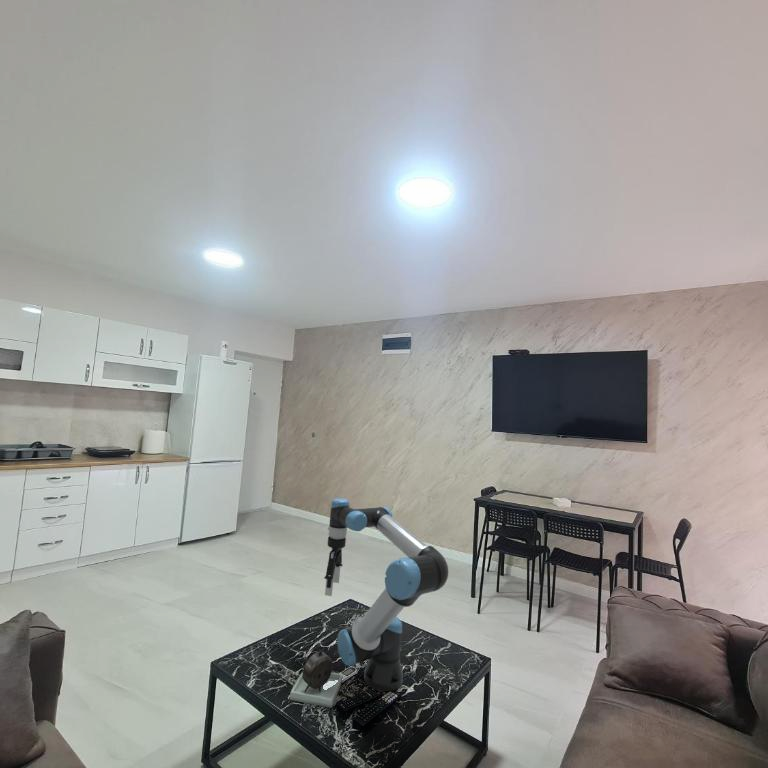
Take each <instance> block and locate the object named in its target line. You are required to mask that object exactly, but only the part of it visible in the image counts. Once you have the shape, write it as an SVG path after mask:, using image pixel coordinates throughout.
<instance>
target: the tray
mask: <svg viewBox="0 0 768 768" xmlns="http://www.w3.org/2000/svg"><path fill="white" fill-rule="evenodd" d="M343 678H344V674H342V673H337V672H332V673H331V675H330V677H329V679H328V681H335V680H338V682H337V683H336V684H335V685H333V686H332V687H330V688H328V689H327V690H324V689H323V686H321V692H319V688H317V689H313V688H311V687H310V686H309V688H308V689H307V690H306V687H307V685H308V684H307V683H306V682H305V681H304V680H303V671H302V672H301V673H300V675H299V677H298V678H297V680H296V682H295V684H294V686H293V687H292V689H291V691H290V694H289V701H294V702H300V703H303V704H309V705H315V706H319V707H325V708H330V709H332V708H333V706H334V703H335V701H336V698H337V696H338V693H339V691H340V688H341V685H342V684H341V683H343V680H344V679H343ZM342 679H343V680H342ZM328 681H327V682H328ZM327 682H326V683H327ZM305 690H306V692H305Z"/></svg>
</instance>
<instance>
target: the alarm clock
mask: <svg viewBox="0 0 768 768" xmlns="http://www.w3.org/2000/svg"><path fill="white" fill-rule="evenodd" d="M322 644H323V648H322V649H319V647H320V645H322ZM325 646H326V645H325V642H324V641H321V642H320V643H319V644H318V646H317V648H316V649H317V650H316V652H315V653H313V654H312V655H310V657H309V658H308V659H307V661H306V662H305V664H304V666H303V669H302V672H303V680H304V681H305V682H306V683H307V684H308V685H307V687H306V690H307V689H308V688H309V686H310V687H311V688H313V689H317V688H319V692H321V686H323V685H324V684H325V683H326V682H327V681H328V679H329V677H330V675H331V673H333V668H334V663H333V660H332V658H331V657H330V656H329V655H328V654H326V652H324V649H325ZM306 690H305V692H306Z"/></svg>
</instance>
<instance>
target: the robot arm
mask: <svg viewBox="0 0 768 768" xmlns="http://www.w3.org/2000/svg"><path fill="white" fill-rule="evenodd" d="M373 527H374V528H375V529H376V530H378V531H379V532H380V533H381V534H382V535H383V536H384V537H385V538H387V539H388V540H389V541H390V542H391V543H392V544H393V545H394V546H395V547H396V548H397V549H398V550H400V551H401V552H402V553H403V554H404V555H406V557H401V558H398V559H395V560H393V561H391V563H390V564H389V565H388V567H387V568H386V570H385V573H384V574H385V577H384V583H385V588H384V589H383V591H382V592H381V593H380V595H379V596H378V597H377V599H376V600H375V601H374V602H373V604H372V605H371V607H369V609H368V610H367V612H366V613H365V614H364V616H361V617H358V618H357V619H355V620H354V621H353V622H352V624H351V625H350V626H349V627H348V628H343V629H341V630H339V632H338V635H337V639H336V643H337V651H338V654H339V656H340V659H341V661H342V662H343V664H345V666H355V665H357V664H360V663H363V662H366V661H367V664H366V666H365V669H364V673H363V680H364V682H365V683H366V685H368V686H369V687H370V688H372V689H373V690H376V691H379V692H391V691H395V690H397V689H399V688H400V687H401V686H402V685H403V681H404V673H403V668H402V664H401V649H402V638H403V622H402V620H401V619H400V618H399V617H398V615H399V614H400V613H401V612H402V610H404V608H407V607H411V606H413V605H414V604H415V602H417V600H418V599H419V598H420V597H421V596H422V595H425V594H429V593H433V592H436V591H438V590H441V589H442V588H443V587H444V586H445V584H446V583H447V580H448V578H449V566H448V562H447V561H446V558H445V557H444V556H443V554H442V553H441V552H440V551H439V550H438V549H436V548H435V547H434V546H432V545H427V544H425V542H423V541H422V540H421V539H419V537H417V536H416V535H414V533H412V532H411V531H410V530H409V529H407V528H406V527H405V526H404V525H403V524H401V523H400V522H398V520H396V519H395V518H393V513H392V511H391V509H390V508H389V507H384V506H383V507H382V506H378V507H366V508H352V507H350V500H349V499H347V498H333V500H331V505H330V515H329V525H328V527H327V530H328V538H327V546H328V547H329V548H331V550H330V552H329V555H328V561H327V567H326V572H325V576H324V579H325V581H326V582H325V589H324V590H325V591H324V596H329V597H332V595H333V586H334V583H335V584H339V583H340V577H341V575H340V574H341V567H343V559H342V557H343V555H342V553H343V549H344V548H345V547H346V542H347V534H348V533H347V531H348V529H349V530H350V531H354V532H361V531H362V530H364V529H365V528H373Z"/></svg>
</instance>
